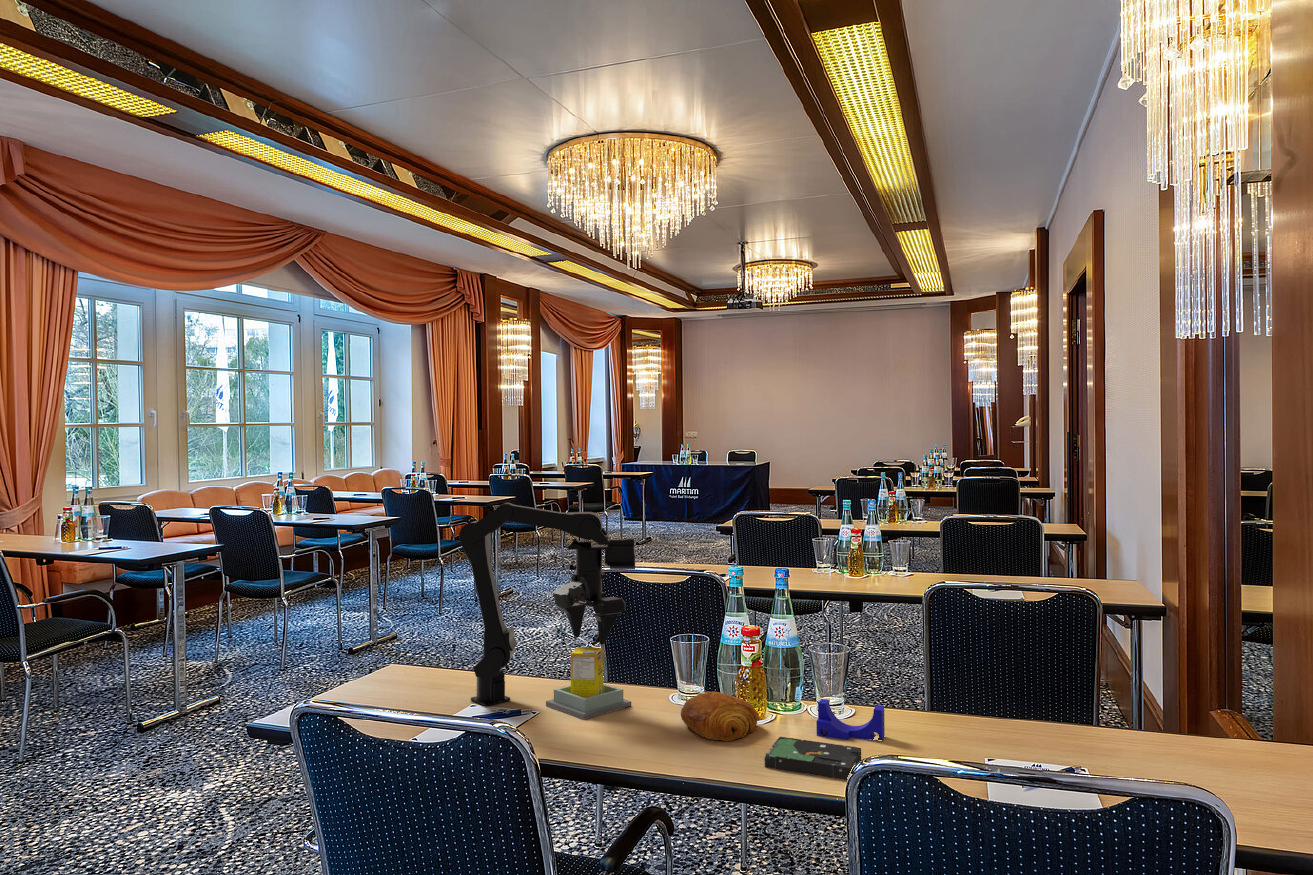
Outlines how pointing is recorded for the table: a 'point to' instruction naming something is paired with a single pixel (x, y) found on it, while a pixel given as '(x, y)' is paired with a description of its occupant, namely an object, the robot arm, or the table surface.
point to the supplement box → (587, 671)
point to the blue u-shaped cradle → (836, 729)
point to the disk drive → (812, 757)
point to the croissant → (719, 716)
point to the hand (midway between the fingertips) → (589, 640)
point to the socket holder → (588, 702)
